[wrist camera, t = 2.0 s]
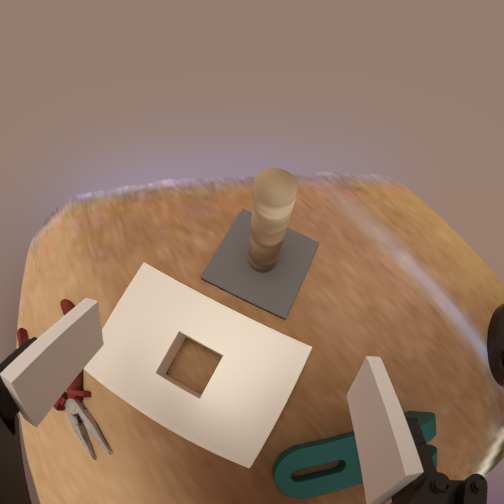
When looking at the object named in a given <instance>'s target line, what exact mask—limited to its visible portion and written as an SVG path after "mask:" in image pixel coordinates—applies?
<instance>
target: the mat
mask: <svg viewBox="0 0 504 504" xmlns="http://www.w3.org/2000/svg"><path fill="white" fill-rule="evenodd" d="M251 215H252V213H251V212H249V211H247V210H245V209H243V210H242V211H241V213H240V214H239V216H238V217H237V219H236V221H235V222H234V224H233V225H232V227H231V229H230V230H229V232H228V233H227V235H226V237H225V238H224V240H223V241H222V243H221V245H220V246H219V248H218V249H217V251H216V253H215V254H214V256H213V258H212V259H211V261H210V262H209V264H208V266H207V267H206V269H205V271H204V272H203V274H202V276H201V279H203V280H204V281H206V282H208V283H210V284H212V285H214V286H216V287H218V288H220V289H222V290H224V291H226V292H228V293H230V294H232V295H234V296H236V297H238V298H240V299H242V300H244V301H247V302H249V303H251V304H253V305H255V306H257V307H259V308H261V309H263V310H265V311H267V312H269V313H272V314H274V315H276V316H278V317H280V318H282V319H284V320H285V319H286V317H287V315H288V312H289V310H290V308H291V306H292V304H293V301H294V299H295V297H296V295H297V293H298V290H299V288H300V286H301V284H302V281H303V279H304V277H305V274H306V272H307V270H308V268H309V265H310V263H311V260H312V258H313V256H314V253H315V251H316V249H317V246H318V244H319V242H317V241H314V240H312V239H310V238H308V237H306V236H304V235H301V234H299V233H297V232H295V231H292V230H290V229H288V228H287V230H286V233H285V237H284V240H283V243H282V247H281V250H280V253H279V257H278V260H277V263H276V266H275V267H274V268H273V269H272V270H271V271H269V272H265V273H261V272H257V271H255V270H254V269H252V268H251V266H250V265H249V262H248V254H249V241H250V228H251Z"/></svg>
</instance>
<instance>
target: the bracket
mask: <svg viewBox="0 0 504 504" xmlns="http://www.w3.org/2000/svg"><path fill="white" fill-rule="evenodd" d="M404 416H405V418H410V417H413V418H414V419H415V421H416V422H417V423H418V424H419V425H420V427H421V430H422V433H423V437H424V438H425V440H426V442H428V441H430V440H431V439H432V438H433V437H434V436H435V435H436V420H435V414H434V413H432V412H415V411H409V412H406V413H404ZM427 446H428V448H429V451H430V454H431V457H432V459H433V462H434V465H435V468H436V467H437V448H436V447H435V446H433V445H428V444H427ZM337 460H340V463H339V465H338V466H336V467H334V468H331V469H327V470H323V471H319V472H315V473H310V474H306V475H301V476H296V477H293V476H291V474H292V473H293V472H294V471H296V470H299V469H304V468H309V467H313V466H318V465H322V464H326V463H330V462H333V461H337ZM273 478H274V480H275V483H276V485H277V487H278V489H279V490H280V491H281V492H282V493H283V494H285V495H287V496H289V497H292V498H298V499H303V498H310V497H314V496H318V495H322V494H326V493H330V492H334V491H337V490H341V489H344V488H347V487H350V486H354V485H357V484H360V483H362V482H363V478H362V472H361V466H360V460H359V455H358V449H357V444H356V439H355V434H354V431H352V432H349V433H345V434H342V435H338V436H334V437H330V438H326V439H322V440H318V441H313V442H309V443H304V444H299V445H295V446H292V447H290V448H288V449H287V450H285V451H284V452H282V453H281V454H280V455H279V456H278V458H277V459H276V461H275V463H274V465H273Z"/></svg>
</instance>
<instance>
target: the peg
mask: <svg viewBox="0 0 504 504" xmlns="http://www.w3.org/2000/svg"><path fill="white" fill-rule="evenodd" d="M297 192H298V182H297V180H296V178H295V177H294V176H293V175H292V174H291V173H289V172H287V171H285V170H283V169H278V168H270V169H265V170H263V171H261V172H260V173H259V174H258V175H257V176H256V177H255V180H254V190H253V203H252V215H251V228H250V241H249V254H248V262H249V265H250V266H251V268H252V269H254V270H255V271H257V272H261V273H265V272H269V271H271V270H272V269H273V268H274V267H275V266H276V263H277V260H278V257H279V253H280V250H281V247H282V243H283V240H284V237H285V233H286V230H287V226H288V223H289V220H290V216H291V213H292V209H293V206H294V202H295V199H296V195H297Z"/></svg>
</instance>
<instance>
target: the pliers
mask: <svg viewBox="0 0 504 504" xmlns="http://www.w3.org/2000/svg"><path fill="white" fill-rule="evenodd" d="M60 303H61V308H62V311H63V314H64V315H66V314H67V313H68V312H69V311H71V310H72V309H73V308H74V305H73V303H72V302H71V301H69V300H67V299H64V300H62V301H61V302H60ZM17 338H18V342H19V347H20V346H21V345H22V344H23V343H24V342H25V341H27V340H29V338H28V334H27V331H26V330H25V329H24V328H20V329H19V330H18V331H17ZM83 397H91V392H89V391H83V390H82V371H81V372H80V373H79V375H78V376H77V377H76V378H75V379H74V381H73V382H72V383H71V384H70V385H69V387H68V388H67V393H66V392H64V393H63V394H62V395H61V397H60V398H59V399H58V400H57V402H56V403H55V404H54V406H53V407H54V408H55V409H56V410H64V409H65V407H66V409H67V411H68V412H69V413H71V415H68V416H69V419H70V422H71V424H72V426H73V428H74V430H75V432H76V433H77V435H78V437H79V438H80V440H81V441H82V443H83V444H84V446H85V447H86V449H87V450H88V452H89V453H90V455H91V456H92V458H93V459H94V460H96V458H95V455H94V452H93V449H92V446H91V443H90V440H89V437H88V434H87V431H86V428H87V429H88V431H89V432H90V433H91V434H92V435H93V437H94V438H95V439H96V440H97V441H98V442H99V443H100V445H101V446H102V447H103V448H104V449H105V450H106V451H107V452H108V453H109V454H111V452H110V450H109V448H108V446H107V444H106V442H105V441H104V439H103V437H102V435H101V433H100V431H99V428H98V426H97V424H96V422H95V420H94V419H93V417H92V415H91V414H90V412H89V411H88V409H84V404H83V401H82V399H83ZM78 416H80V417H81V419H82V420H83V422H84V423H83V424H82V423H80V421H79V420H78ZM85 427H86V428H85Z"/></svg>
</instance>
